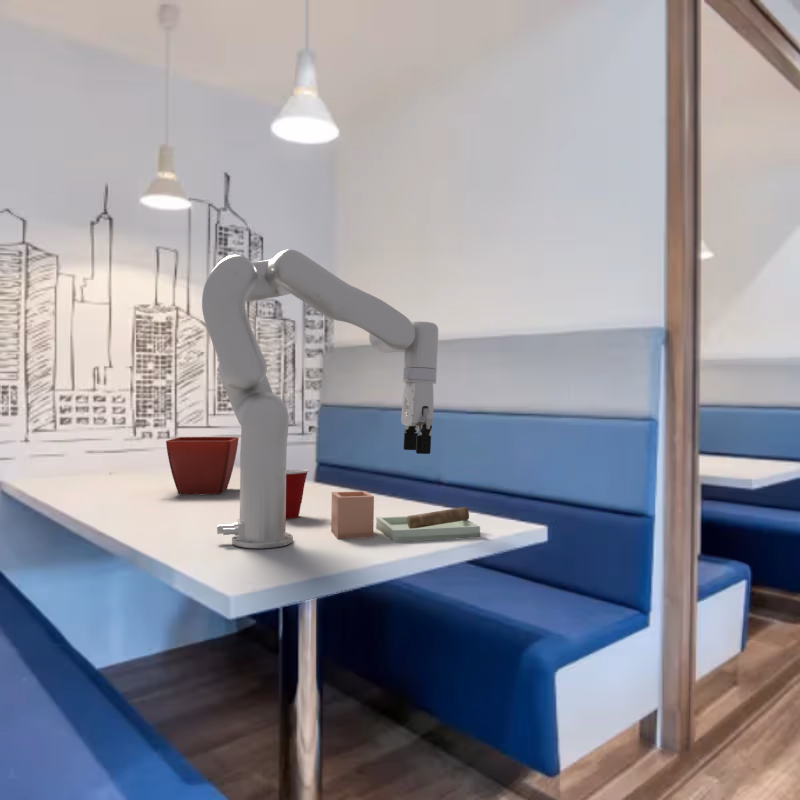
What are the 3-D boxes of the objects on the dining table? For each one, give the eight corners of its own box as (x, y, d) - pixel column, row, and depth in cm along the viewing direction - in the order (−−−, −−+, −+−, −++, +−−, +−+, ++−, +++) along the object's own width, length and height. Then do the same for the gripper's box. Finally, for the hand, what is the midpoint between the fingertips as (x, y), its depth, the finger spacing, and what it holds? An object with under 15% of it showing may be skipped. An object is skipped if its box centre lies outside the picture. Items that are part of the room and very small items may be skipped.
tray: (392, 542, 141) (393, 530, 141) (376, 527, 156) (376, 517, 156) (479, 537, 147) (480, 526, 147) (455, 524, 161) (456, 514, 161)
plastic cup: (290, 511, 176) (290, 466, 176) (316, 516, 169) (317, 469, 168) (256, 516, 168) (256, 469, 168) (282, 522, 161) (283, 473, 160)
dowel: (406, 519, 148) (460, 489, 151) (402, 516, 151) (455, 487, 154) (420, 548, 149) (473, 518, 153) (416, 545, 152) (468, 516, 155)
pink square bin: (337, 538, 143) (338, 497, 143) (331, 531, 151) (331, 492, 151) (373, 537, 146) (373, 496, 146) (365, 529, 153) (365, 491, 153)
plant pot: (178, 487, 215) (179, 436, 215) (238, 487, 217) (239, 436, 217) (164, 497, 196) (164, 440, 196) (230, 496, 198) (230, 440, 198)
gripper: (393, 376, 157) (390, 448, 157) (415, 374, 141) (411, 454, 141) (423, 378, 159) (420, 448, 159) (448, 376, 143) (444, 455, 143)
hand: (416, 451), depth 150 cm, fingers open, 9 cm apart
